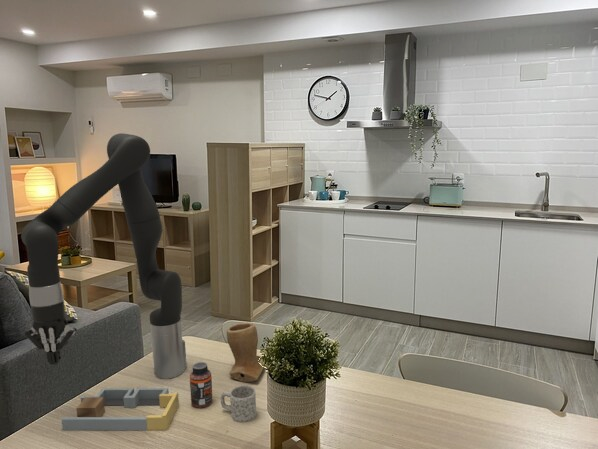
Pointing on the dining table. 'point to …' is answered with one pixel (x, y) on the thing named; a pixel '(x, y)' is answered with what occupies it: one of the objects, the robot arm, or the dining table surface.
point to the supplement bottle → (201, 385)
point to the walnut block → (91, 407)
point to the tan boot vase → (244, 352)
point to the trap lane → (117, 398)
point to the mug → (241, 403)
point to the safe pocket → (165, 419)
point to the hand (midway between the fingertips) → (54, 363)
